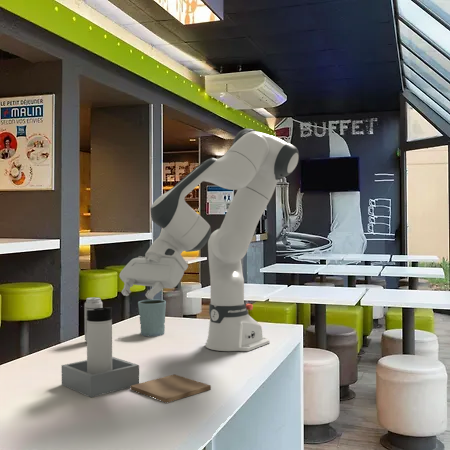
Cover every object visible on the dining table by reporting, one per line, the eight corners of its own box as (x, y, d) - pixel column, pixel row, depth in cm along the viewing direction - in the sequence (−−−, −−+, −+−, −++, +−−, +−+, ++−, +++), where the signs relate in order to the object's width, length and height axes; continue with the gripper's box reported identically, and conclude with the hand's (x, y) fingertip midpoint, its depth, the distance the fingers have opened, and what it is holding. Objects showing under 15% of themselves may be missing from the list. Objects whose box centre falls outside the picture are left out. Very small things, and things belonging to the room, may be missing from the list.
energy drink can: (105, 340, 192) (104, 297, 192) (99, 344, 186) (99, 299, 186) (88, 339, 193) (88, 297, 193) (82, 343, 187) (81, 299, 187)
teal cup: (171, 333, 204) (171, 300, 204) (154, 338, 195) (153, 304, 195) (150, 330, 209) (150, 298, 209) (132, 334, 201) (132, 302, 200)
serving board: (174, 378, 146) (174, 374, 146) (210, 389, 136) (210, 385, 136) (130, 389, 136) (130, 385, 136) (166, 403, 126) (166, 398, 126)
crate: (108, 373, 151) (108, 355, 150) (139, 384, 141) (139, 365, 141) (61, 384, 141) (61, 365, 141) (90, 397, 131) (90, 376, 131)
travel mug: (101, 390, 136) (100, 309, 136) (82, 385, 140) (81, 307, 139) (118, 383, 142) (118, 305, 141) (99, 379, 145) (99, 303, 145)
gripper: (130, 249, 162) (104, 285, 154) (182, 251, 150) (156, 291, 142) (141, 263, 166) (116, 299, 158) (192, 266, 153) (168, 306, 145)
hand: (136, 295), depth 150 cm, fingers open, 8 cm apart
